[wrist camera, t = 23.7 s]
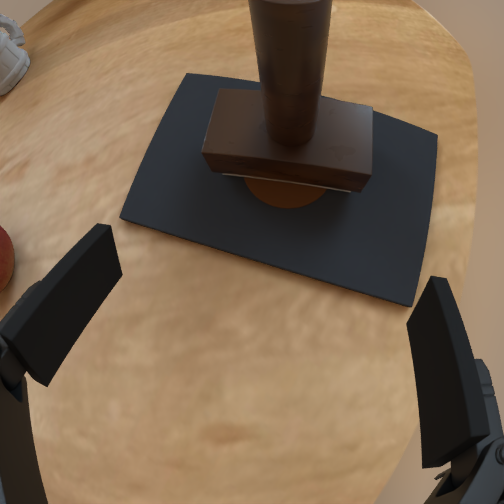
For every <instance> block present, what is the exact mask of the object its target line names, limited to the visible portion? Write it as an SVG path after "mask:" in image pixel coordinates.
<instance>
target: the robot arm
mask: <svg viewBox="0 0 504 504" xmlns="http://www.w3.org/2000/svg"><path fill="white" fill-rule="evenodd" d="M122 275H123V274H122V270H121V266H120V263H119V259H118V254H117V250H116V246H115V242H114V237H113V233H112V228H111V225H106V224H99V223H97V224H96V225H95V226H94V227H93V228H92V229H91V230H90V231H89V232H88V233H87V234H86V235H85V236H84V237H83V238H82V239H81V240H80V241H79V242H78V243H77V244H76V245H75V246H74V247H73V248H72V249H71V250H70V251H69V252H68V253H67V254H66V255H65V256H64V257H63V258H62V259H61V260H60V261H59V262H58V263H57V264H56V265H55V266H54V267H53V269H52V270H51V271H50V272H49V273H48V274H47V275H46V276H45V277H44V278H43V280H42V281H40V280H39V281H38V282H36V283H35V284H33V285H32V286H31V287H29V288H28V289H27V290H26V292H25V293H24V294H23V295H22V296H21V298H20V299H19V300H18V301H17V302H16V303H15V306H13V307H12V308H11V309H10V311H9V312H8V313H7V314H6V315H5V317H4V318H3V319H2V320H1V322H0V504H48V501H47V498H46V494H45V490H44V487H43V483H42V479H41V475H40V470H39V466H38V461H37V456H36V451H35V446H34V440H33V434H32V427H31V420H30V412H29V403H28V392H27V381H26V377H25V376H24V374H25V373H26V371H27V372H28V373H29V374H30V376H31V377H32V378H33V379H34V380H35V381H37V382H39V383H40V384H42V385H44V386H46V387H48V385H49V383H50V382H51V380H52V378H53V377H54V375H55V373H56V372H57V370H58V369H59V367H60V365H61V364H62V362H63V361H64V359H65V358H66V356H67V354H68V353H69V351H70V350H71V348H72V347H73V345H74V344H75V342H76V341H77V339H78V338H79V336H80V335H81V333H82V332H83V330H84V329H85V327H86V326H87V324H88V323H89V321H90V320H91V318H92V317H93V316H94V314H95V313H96V311H97V310H98V308H99V307H100V306H101V304H102V303H103V301H104V300H105V299H106V297H107V296H108V294H109V293H110V292H111V290H112V289H113V287H114V286H115V285H116V283H117V282H118V281H119V279H120V278H121V277H122ZM406 325H407V330H408V335H409V341H410V347H411V353H412V359H413V366H414V373H415V380H416V388H417V397H418V407H419V418H420V429H421V448H422V468H433V467H441V466H443V465H444V464H446V463H448V462H450V461H451V468H449V469H447V470H446V471H444V472H442V473H440V474H438V475H437V476H436V477H435V478H434V479H435V480H437V479H439V478H441V477H443V478H442V479H441V480H440V482H439V483H438V485H437V486H436V488H435V489H434V490H433V492H432V493H431V495H430V496H429V497H428V499H427V500H426V501H425V503H424V504H504V435H503V430H502V425H501V420H500V415H499V410H498V405H497V401H496V397H495V396H494V394H495V392H494V388H493V386H492V380H491V377H490V373H489V370H488V369H487V367H486V365H485V364H484V362H483V360H482V359H474V356H473V353H472V349H471V346H470V343H469V339H468V336H467V333H466V330H465V327H464V324H463V321H462V318H461V315H460V313H459V310H458V307H457V304H456V301H455V299H454V296H453V293H452V291H451V288H450V286H449V283H448V281H447V278H442V277H436V276H430V279H429V281H428V283H427V285H426V287H425V289H424V291H423V293H422V295H421V297H420V299H419V301H418V303H417V305H416V307H415V308H414V310H413V312H412V314H411V316H410V318H409V320H408V321H407V323H406Z"/></svg>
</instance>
